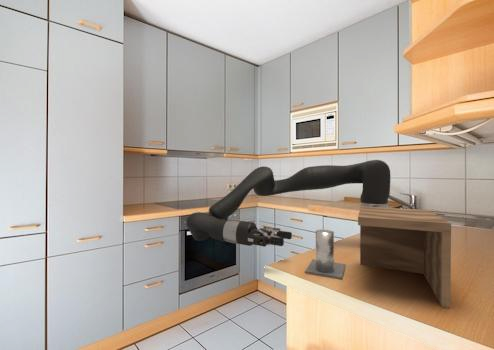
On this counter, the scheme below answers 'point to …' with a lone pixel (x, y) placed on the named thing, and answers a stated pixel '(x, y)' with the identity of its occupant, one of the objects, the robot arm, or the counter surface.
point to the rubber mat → (336, 274)
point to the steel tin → (325, 251)
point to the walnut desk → (408, 244)
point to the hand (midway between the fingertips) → (287, 238)
